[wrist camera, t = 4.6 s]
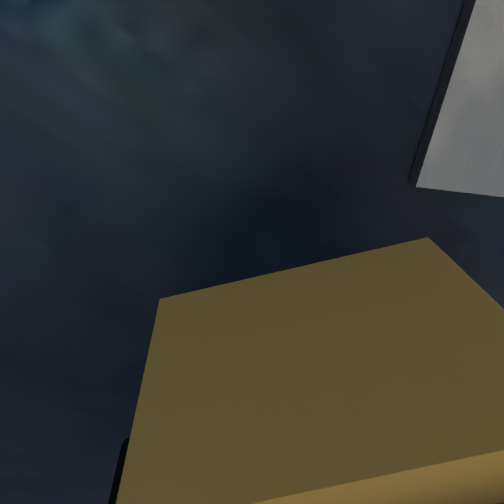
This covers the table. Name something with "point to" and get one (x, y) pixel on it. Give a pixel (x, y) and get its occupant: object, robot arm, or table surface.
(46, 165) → the table surface
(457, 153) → the post base
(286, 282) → the yellow hollow square block
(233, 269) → the table surface
